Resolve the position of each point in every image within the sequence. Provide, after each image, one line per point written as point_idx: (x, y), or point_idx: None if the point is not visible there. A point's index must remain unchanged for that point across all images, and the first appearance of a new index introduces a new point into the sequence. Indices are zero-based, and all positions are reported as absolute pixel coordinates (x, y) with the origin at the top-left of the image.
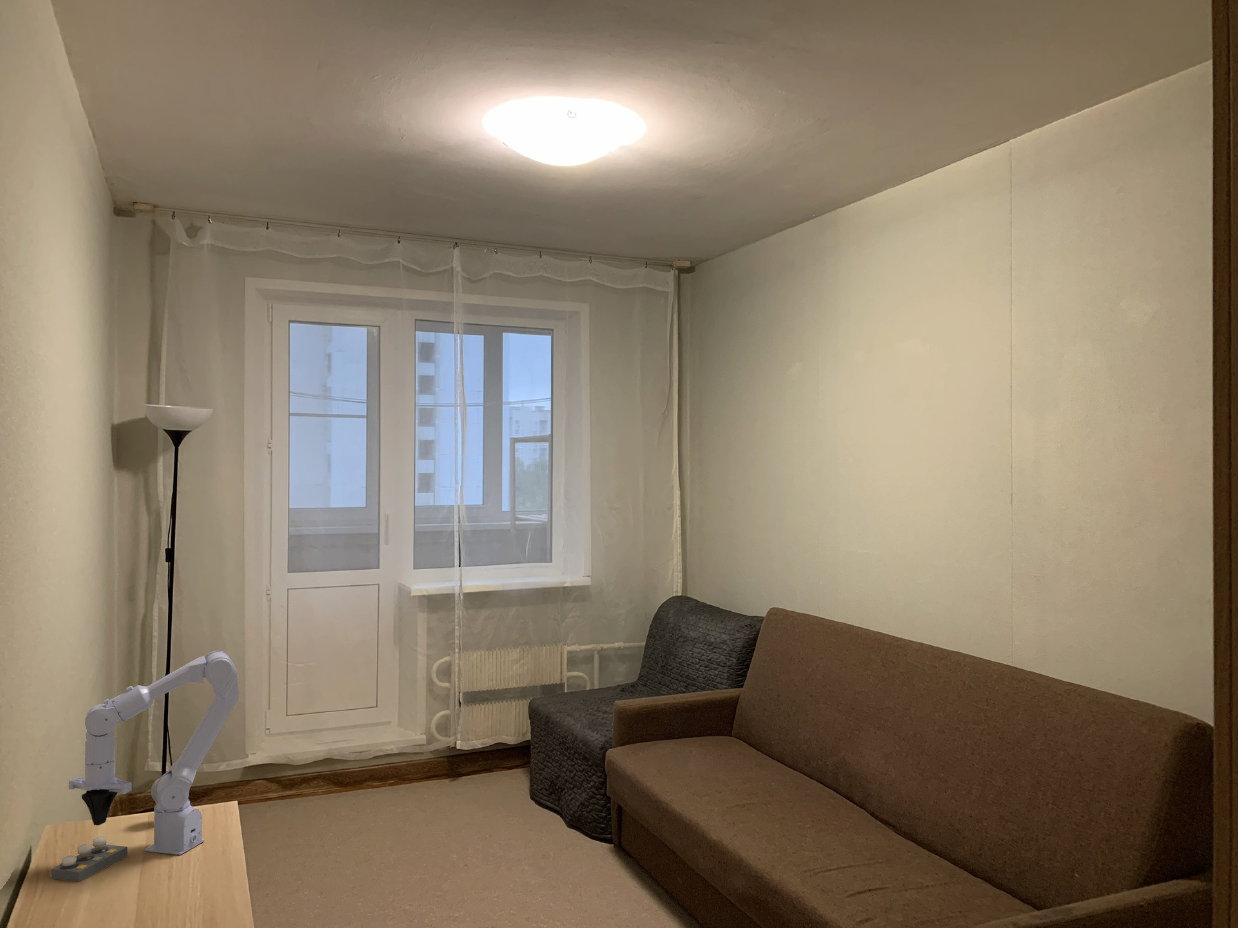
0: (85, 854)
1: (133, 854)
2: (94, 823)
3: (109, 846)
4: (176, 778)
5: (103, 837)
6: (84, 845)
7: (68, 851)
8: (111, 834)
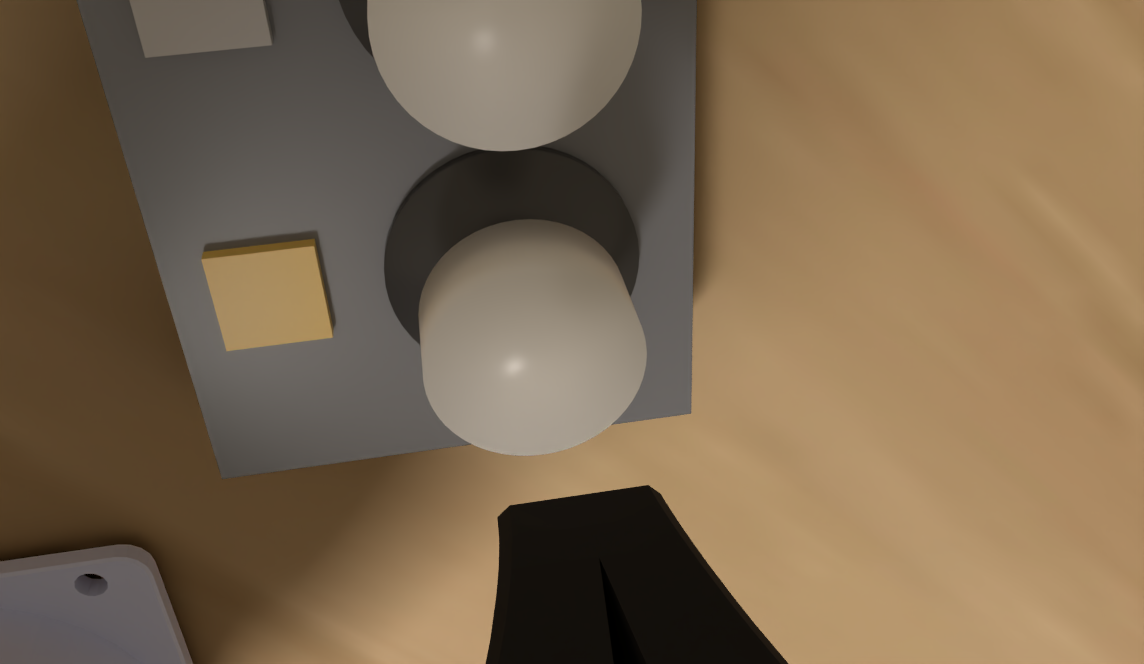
0: None
1: (208, 449)
2: (623, 510)
3: None
4: None
5: (521, 426)
6: (552, 53)
7: (1107, 244)
8: (923, 657)
